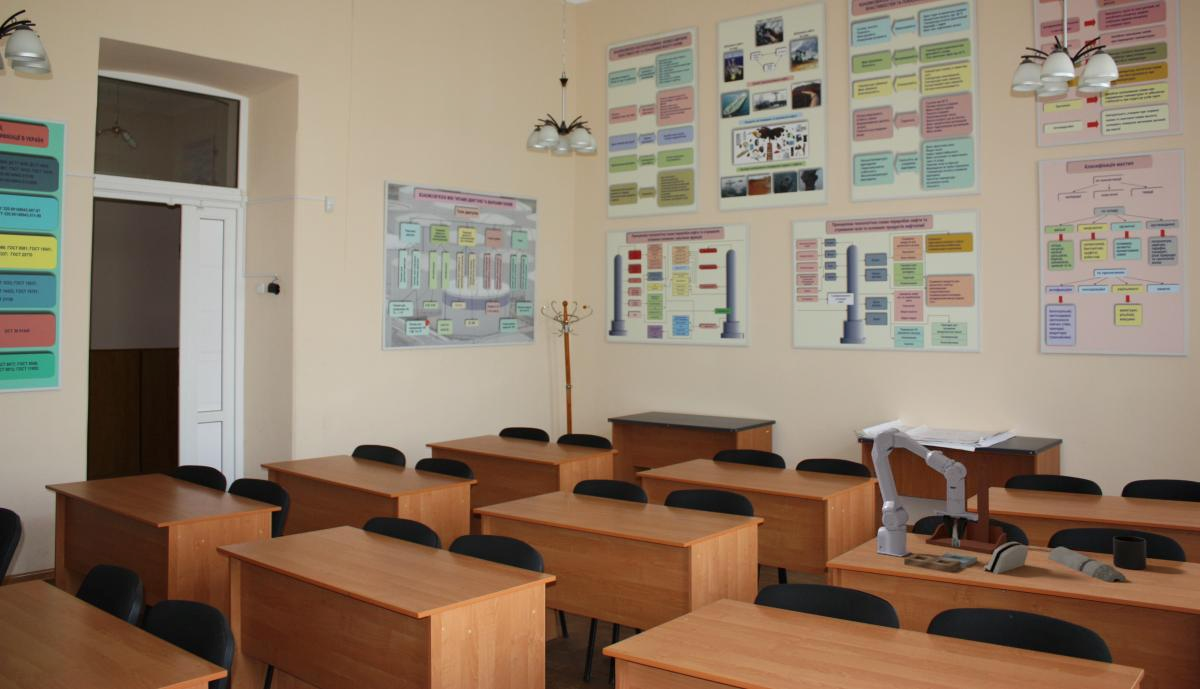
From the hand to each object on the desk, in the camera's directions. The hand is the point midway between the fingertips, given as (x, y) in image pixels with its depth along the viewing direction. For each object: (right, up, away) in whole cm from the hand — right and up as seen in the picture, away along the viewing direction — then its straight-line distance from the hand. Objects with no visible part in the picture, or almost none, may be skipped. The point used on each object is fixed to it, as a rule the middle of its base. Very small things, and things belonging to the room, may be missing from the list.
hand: (956, 538), depth 319 cm
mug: (+53, -7, -9) cm, 55 cm away
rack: (-10, -8, -4) cm, 13 cm away
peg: (0, -3, 0) cm, 2 cm away
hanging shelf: (+12, -8, +22) cm, 27 cm away
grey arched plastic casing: (+13, -8, -10) cm, 18 cm away
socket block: (0, -8, 0) cm, 8 cm away
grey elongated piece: (+38, -8, -12) cm, 41 cm away
